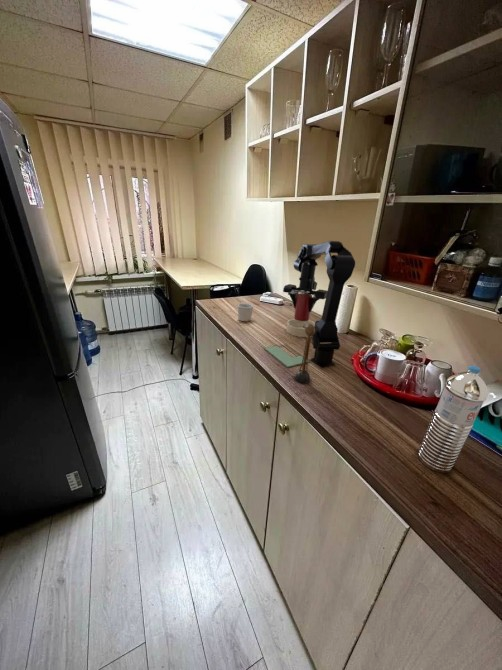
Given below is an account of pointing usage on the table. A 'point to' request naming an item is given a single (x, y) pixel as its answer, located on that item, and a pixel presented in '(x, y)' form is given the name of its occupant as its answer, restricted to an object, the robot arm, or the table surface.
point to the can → (302, 307)
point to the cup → (245, 311)
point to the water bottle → (452, 420)
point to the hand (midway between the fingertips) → (302, 310)
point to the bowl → (298, 327)
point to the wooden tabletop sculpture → (303, 374)
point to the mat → (285, 356)
